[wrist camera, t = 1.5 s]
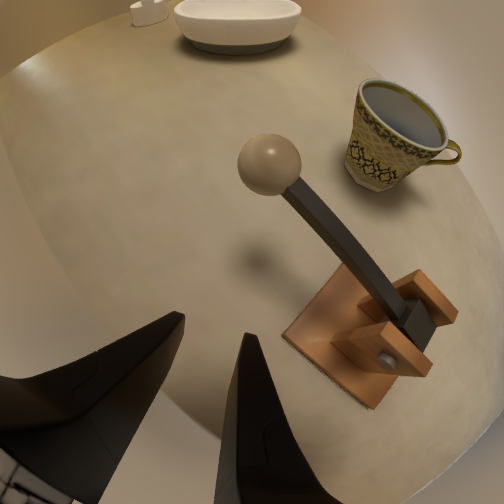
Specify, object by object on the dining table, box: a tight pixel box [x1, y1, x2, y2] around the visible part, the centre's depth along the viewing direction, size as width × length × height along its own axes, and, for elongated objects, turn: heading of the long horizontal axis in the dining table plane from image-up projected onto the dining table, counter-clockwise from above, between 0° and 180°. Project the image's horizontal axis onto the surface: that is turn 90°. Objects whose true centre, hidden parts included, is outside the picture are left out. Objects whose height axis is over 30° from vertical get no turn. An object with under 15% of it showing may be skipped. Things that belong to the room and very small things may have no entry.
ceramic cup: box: [345, 79, 462, 192], centre depth 24 cm, size 13×10×10 cm
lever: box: [238, 134, 437, 353], centre depth 14 cm, size 16×3×3 cm, turn 47°
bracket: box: [282, 262, 458, 410], centre depth 18 cm, size 11×9×10 cm
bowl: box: [174, 0, 302, 55], centre depth 35 cm, size 22×22×8 cm
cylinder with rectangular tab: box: [130, 0, 168, 27], centre depth 39 cm, size 9×9×12 cm
